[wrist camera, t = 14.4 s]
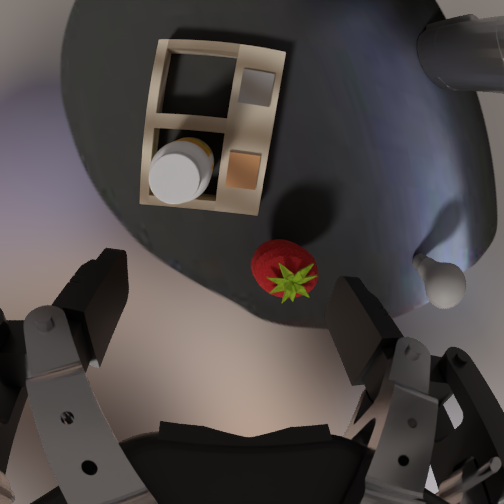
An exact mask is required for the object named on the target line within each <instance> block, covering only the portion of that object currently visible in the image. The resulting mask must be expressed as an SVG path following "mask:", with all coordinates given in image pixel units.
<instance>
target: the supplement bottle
mask: <svg viewBox="0 0 504 504" xmlns="http://www.w3.org/2000/svg"><path fill="white" fill-rule="evenodd" d="M213 167H214V156H213V152H212V150H211V148H210V147H209V146H208V145H207V144H206V143H205V142H204V141H202V140H201V139H198V138H194V137H185V138H181V139H178V140H176V141H173V142H171V143H168V144H166V145H165V146H163V147H162V148H161V149H160V150H159V151H158V152H157V153H156V154H155V155H154V157H153V159H152V161H151V164H150V168H149V185H150V188H151V191H152V192H153V194H154V195H155V196H156V197H157V198H158V199H159V200H161V201H163V202H165V203H168V204H181V203H184V202H189V201H191V200H194V199H195V198H197V197H198V196H200V195H201V194H202V193H203V192H204V191H205V189H206V188H207V186H208V184H209V182H210V179H211V175H212V171H213Z"/></svg>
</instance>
